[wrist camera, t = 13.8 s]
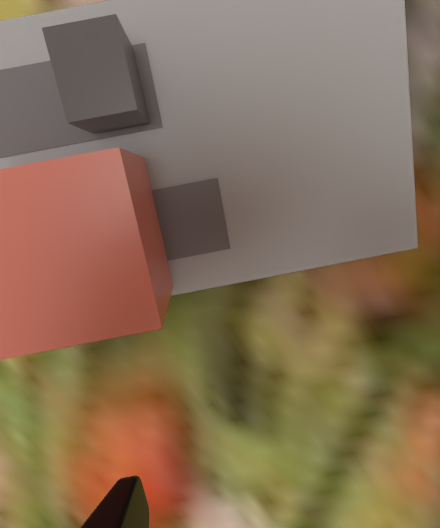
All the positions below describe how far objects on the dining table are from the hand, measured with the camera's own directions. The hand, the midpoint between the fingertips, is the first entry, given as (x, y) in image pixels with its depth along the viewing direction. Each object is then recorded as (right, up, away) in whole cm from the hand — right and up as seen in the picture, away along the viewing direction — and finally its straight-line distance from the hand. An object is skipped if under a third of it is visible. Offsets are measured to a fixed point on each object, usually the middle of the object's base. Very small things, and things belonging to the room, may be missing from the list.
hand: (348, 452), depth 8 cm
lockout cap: (-9, +5, +9) cm, 14 cm away
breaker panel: (-5, +9, +10) cm, 14 cm away
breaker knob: (-7, +11, +7) cm, 15 cm away
